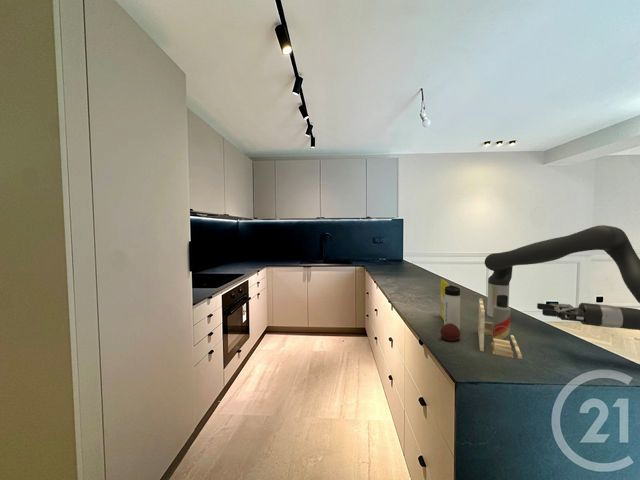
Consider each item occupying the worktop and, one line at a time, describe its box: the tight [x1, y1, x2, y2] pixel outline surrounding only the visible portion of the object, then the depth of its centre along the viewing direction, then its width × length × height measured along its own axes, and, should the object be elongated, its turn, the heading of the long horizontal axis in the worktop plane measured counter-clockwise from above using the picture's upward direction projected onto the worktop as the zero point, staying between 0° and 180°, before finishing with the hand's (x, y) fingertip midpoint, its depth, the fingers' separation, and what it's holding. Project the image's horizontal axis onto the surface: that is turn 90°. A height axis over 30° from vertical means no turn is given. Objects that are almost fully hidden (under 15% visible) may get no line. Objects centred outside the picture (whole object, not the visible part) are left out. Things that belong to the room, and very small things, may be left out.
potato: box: [440, 323, 461, 342], centre depth 110 cm, size 7×8×7 cm
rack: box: [477, 297, 523, 360], centre depth 105 cm, size 20×13×16 cm, turn 151°
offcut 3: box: [491, 348, 514, 358], centre depth 99 cm, size 7×6×2 cm
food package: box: [439, 278, 450, 321], centre depth 133 cm, size 15×1×20 cm, turn 168°
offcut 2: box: [490, 341, 514, 358], centre depth 99 cm, size 6×5×2 cm
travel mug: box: [443, 284, 461, 330], centre depth 120 cm, size 6×7×20 cm
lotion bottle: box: [491, 295, 512, 343], centre depth 106 cm, size 6×6×20 cm
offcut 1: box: [492, 338, 512, 352], centre depth 98 cm, size 6×5×2 cm
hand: (539, 308), depth 100 cm, fingers open, 8 cm apart
